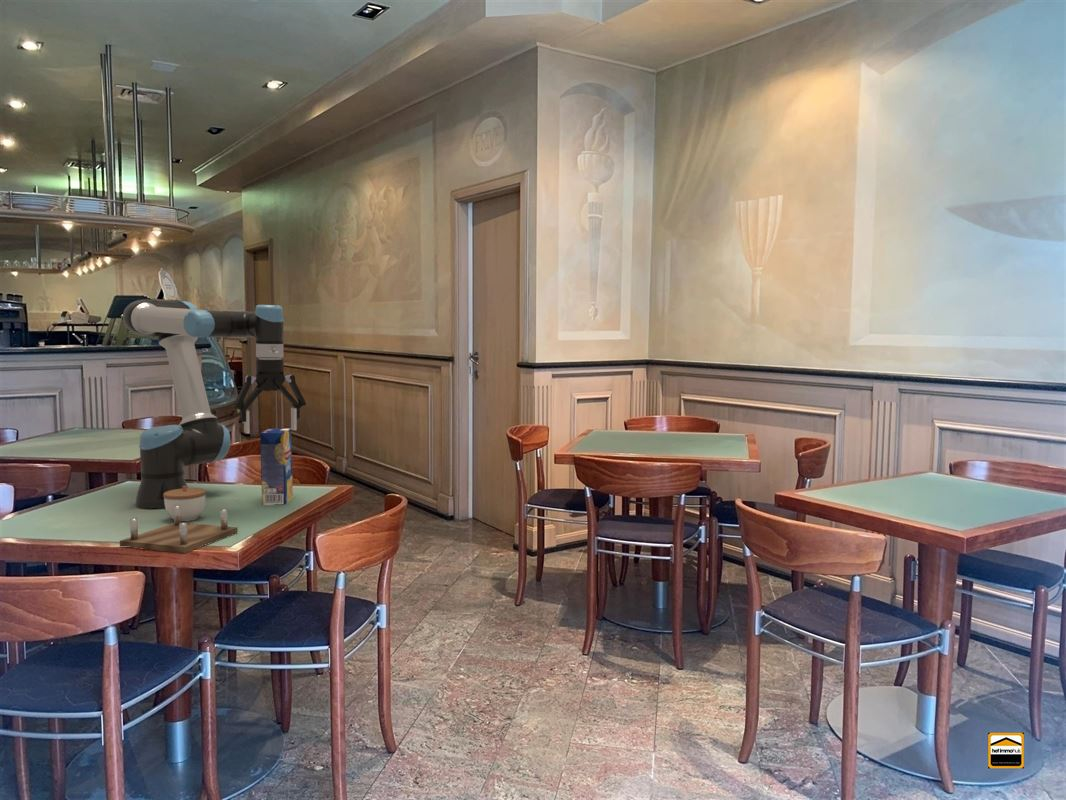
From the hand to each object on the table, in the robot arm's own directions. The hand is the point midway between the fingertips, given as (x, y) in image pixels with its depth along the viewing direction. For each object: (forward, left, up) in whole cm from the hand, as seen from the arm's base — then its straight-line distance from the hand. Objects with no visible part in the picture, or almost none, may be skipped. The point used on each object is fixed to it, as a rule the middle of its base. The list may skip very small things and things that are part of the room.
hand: (270, 431), depth 219 cm
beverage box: (-6, +11, -24) cm, 26 cm away
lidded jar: (-17, -16, -24) cm, 33 cm away
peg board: (-3, -34, -23) cm, 42 cm away
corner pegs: (-3, -34, -22) cm, 41 cm away
